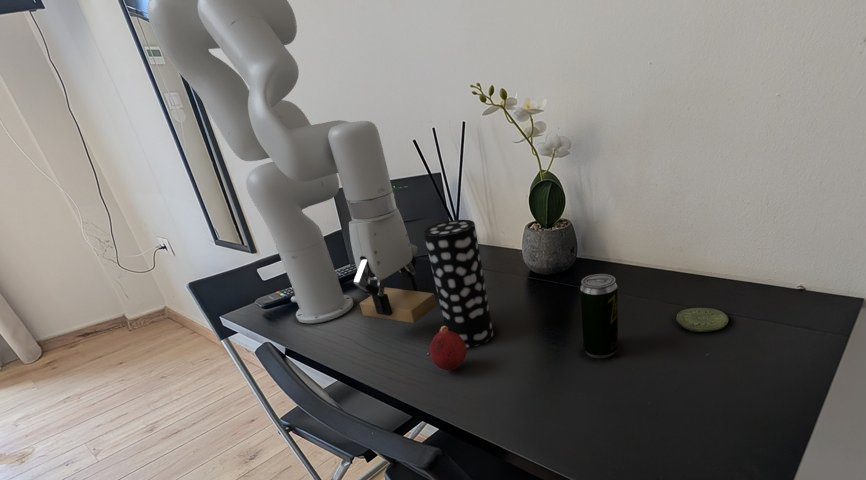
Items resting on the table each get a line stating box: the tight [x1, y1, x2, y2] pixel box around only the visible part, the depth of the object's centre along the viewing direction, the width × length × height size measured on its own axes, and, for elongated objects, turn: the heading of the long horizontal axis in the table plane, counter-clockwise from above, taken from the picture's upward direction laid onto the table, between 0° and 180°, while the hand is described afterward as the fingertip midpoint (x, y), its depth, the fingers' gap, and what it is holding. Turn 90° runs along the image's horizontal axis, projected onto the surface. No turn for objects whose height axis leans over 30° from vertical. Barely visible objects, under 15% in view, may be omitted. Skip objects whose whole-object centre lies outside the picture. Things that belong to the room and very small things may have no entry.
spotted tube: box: [423, 219, 494, 349], centre depth 80 cm, size 8×8×20 cm
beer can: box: [579, 273, 619, 359], centre depth 72 cm, size 5×5×12 cm
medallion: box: [675, 307, 729, 333], centre depth 77 cm, size 8×8×1 cm
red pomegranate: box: [429, 325, 468, 372], centre depth 74 cm, size 6×6×8 cm
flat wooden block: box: [359, 286, 437, 324], centre depth 86 cm, size 12×7×2 cm, turn 61°
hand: (398, 303), depth 86 cm, fingers closed on flat wooden block, 7 cm apart
